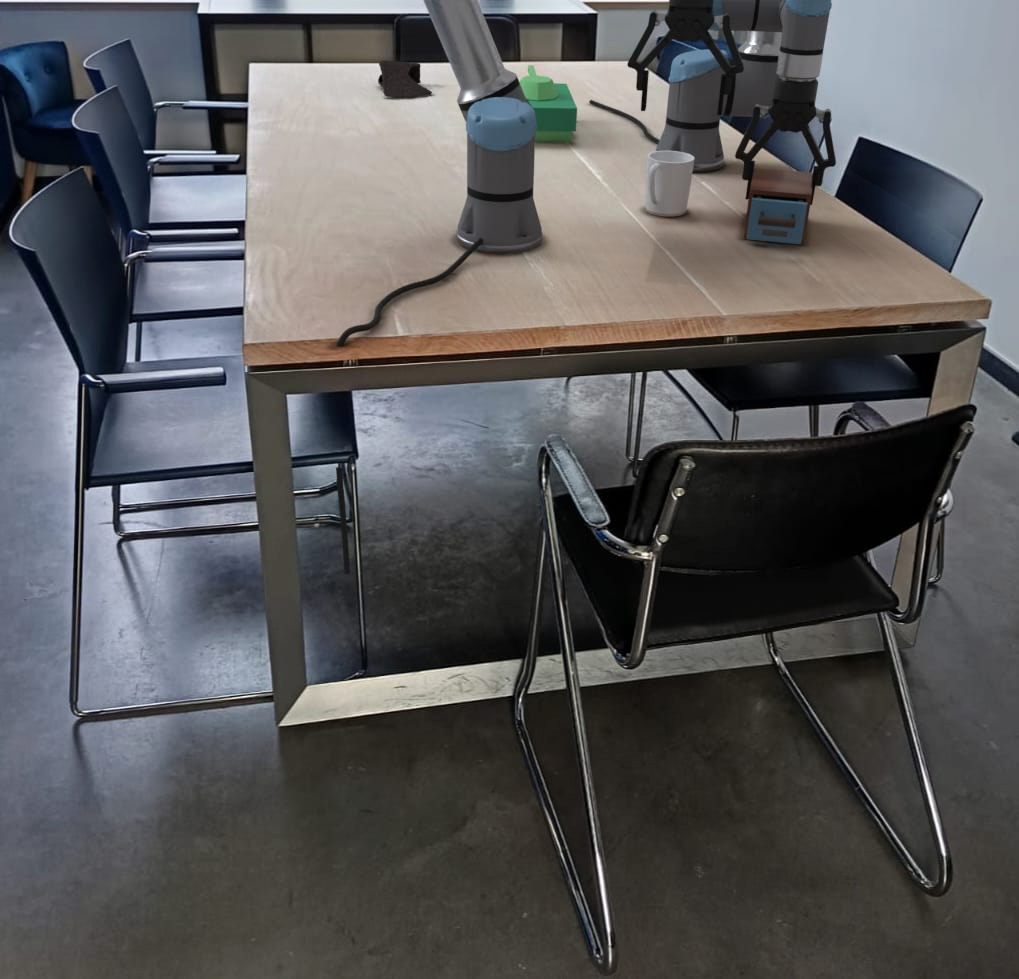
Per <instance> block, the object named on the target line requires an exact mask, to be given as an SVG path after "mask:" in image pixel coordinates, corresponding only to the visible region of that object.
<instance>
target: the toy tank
mask: <svg viewBox="0 0 1019 979" xmlns="http://www.w3.org/2000/svg"><path fill="white" fill-rule="evenodd" d="M527 72H528V75H525V76H523V77H521V79H520V80H519V83H520V85H521V88H522V90H523V92H524V95H525V98H526V99H528V101H529V103H530V104H531V106H532V108H533V109H534V112H535V118H536V123H537V127H536V133H535V143H540V144H541V143H542V144H543V143H546V144H547V143H548V144H549V143H554V144H555V143H559V144H560V143H562V144H565V143H566V144H571V143H572V141H573V132H577V121H578V120H577V117H578V106H577V105H576V102H575V100H574V98H573V95H572V93H571V91H570V89H569V86H568V84H567V83H555V82H554V80H553V79H552V78H550V77H549V76H545V75H538V74H537V71H536V69H535V66H534V65H532V64H531V65H530V64H528V65H527Z"/></svg>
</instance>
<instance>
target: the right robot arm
mask: <svg viewBox="0 0 1019 979" xmlns="http://www.w3.org/2000/svg"><path fill="white" fill-rule="evenodd" d="M832 6H833V3H832V0H714V1H713V15H714V16H717V15H724V14H725V13H728V14H729V15H730V28H731V31H732V32H747V34H746V39H745V41H744V43H742V44H741V45H740V46H739V47H738V51H739V53H740V56H741V59H742V62H743V65H744V71H743V72H742V73H737V74H735V75H734V76H733V77H732V85H731V93H730V95H724V97H723V107H722V115H717V113H718V104H719V94H720V85H721V76H722V74H726V73H725V72H724V71H723V69H722V68H721V66H720V65H719V63H718V62H717V60H716V59H715V57H714V56H713V54H712V53H711V51H710V50H709V49H708V48H707V49H698V50H697V49H696V50H691V51H687V52H683V53H680V54H678V55H676V57H674V58H673V59H672V62H671V64H670V65H671V66H670V73H669V77H668V82H669V85H668V96H667V104H666V105H667V106H666V116H665V125H664V128H663V131H662V132H661V136H660V138H658V137H655V136H653V134H650V132H649V131H648V128H647V127H646V125H644V123H643V122H642V121H640V120H639V119H638V118H636V117H635V116H633V115H631V114H628V113H626V112H624V111H622V110H620V109H616V108H614V107H611V106H608V105H606V104H603V103H601V102H598V101H595V100H593V99H590V100H589V104H590V105H593V106H596V107H599V108H600V109H604V110H606V111H608V112H611V113H614V114H616V115H619V116H621V117H624V118H625V119H628V120H630V121H632V122H634V123H635V124H636V125H638V126H639V127H640V128H641V129H642V131H643V134H644V135H645V136H646V138H648V139H649V140H650V141H652V142H654V143H656V144H657V145H656V148H655V150H654V152H655V151H678V152H684V153H688V154H690V155H692V156H694V165H693V172H692V173H707V172H713V171H717V170H719V169H721V168H723V166H724V160H725V156H724V155H725V154H724V149H723V144H722V138H721V134H720V123H721V117H742V118H743V117H744V118H745V117H747V118H748V117H749V118H751V120H750V122H749V124H748V126H747V129H746V130H745V132H744V134H743V137H742V139H741V141H740V142H739V145H738V148H737V149H736V151H735V154H734V158H735V159H736V160H740V161H742V162H743V168H742V176H741V178H742V180H743V181H747V185H746V193H745V200H749V193H750V187H751V182H752V176H753V172H754V168H755V165H756V160H754V158H755V157H756V156H757V155H758V154H759V152H760V151H761V150H762V149H763V147H764V146H765V145H766V144H767V143H768V141H769V140H770V139H771V138H772V137H773V135H774V134H775V133H776V132H777V131H780V132H782V133H786V132H791V133H794V134H799V133H800V132H801V133H802V136H803V138H804V139H805V141H806V143H807V146H808V148H809V150H810V152H811V155H812V157H813V160H814V161H815V163H816V165H813V170H812V198H811V204H810V206H813V203H814V196H815V190H816V187H821V186H822V185H823V180H824V175H825V170H826V169H828V168H832V167H835V166H836V164H837V159H836V153H835V148H834V147H835V146H834V141H833V136H832V135H833V134H832V130H831V124H830V123H831V118H832V110H831V109H830V108H826V109H817V108H816V100H817V94H818V87H819V81H818V79H817V78H819V77H820V76H821V75H820V74H821V69H822V68H821V67H822V63H823V56H824V49H825V42H826V35H827V30H828V24H829V18H830V14H831V13H830V12H831V10H832ZM708 31H713V32H719V31H720V32H723V29H720V28H719V27H718V24H717V23H713V25H712V26H711V27H710V29H709V30H708ZM720 50H721V52H722V53H723V55H724V56H725V58H726V59H727V61H728V62H729V63H730V65H731V66H734V65H735V64H734V61H733V58H732V57H731V58H729V55H728V52H727V51H726V50H724V49H720ZM816 117H817V119H818V122H819V124H822V130H823V132H822V133H823V137H824V143H825V149H826V154H827V158H824V156H823V154H822V152H821V149H820V148H819V146H818V143H817V141H816V139H815V137H814V135H813V133H812V130H811V127H810V123H811V122H812V121H813V120H814V118H816ZM767 118H770V119H771V120H772V122H771V123H770V124H769V126H768V127H767V129H766V130H765V131H764V132H763V133H762V135H760V137H759V138H758V140H757V141H756V142H755V143H754V144H753V146H752V147H751V148H749V151H748V152H745V151H746V149H747V146H748V145H749V143H750V140H751V139H752V137H753V134H754V132H755V130H756V129H757V126H758V123H759V121H760V120H761V119H767Z"/></svg>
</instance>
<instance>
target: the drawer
mask: <svg viewBox="0 0 1019 979" xmlns="http://www.w3.org/2000/svg"><path fill="white" fill-rule="evenodd" d="M806 210H807V202H803V199H801V198H790V197H778V196H767V195H757V198H752V202H751V209H750V216H749V224H748V231H747V238H746V239H745V240H749V241H750V240H751V241H759V242H771V243H772V242H773V243H782V244H792V245H802V244H801V241H802V234H803V228H804V222H805V216H806Z"/></svg>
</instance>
